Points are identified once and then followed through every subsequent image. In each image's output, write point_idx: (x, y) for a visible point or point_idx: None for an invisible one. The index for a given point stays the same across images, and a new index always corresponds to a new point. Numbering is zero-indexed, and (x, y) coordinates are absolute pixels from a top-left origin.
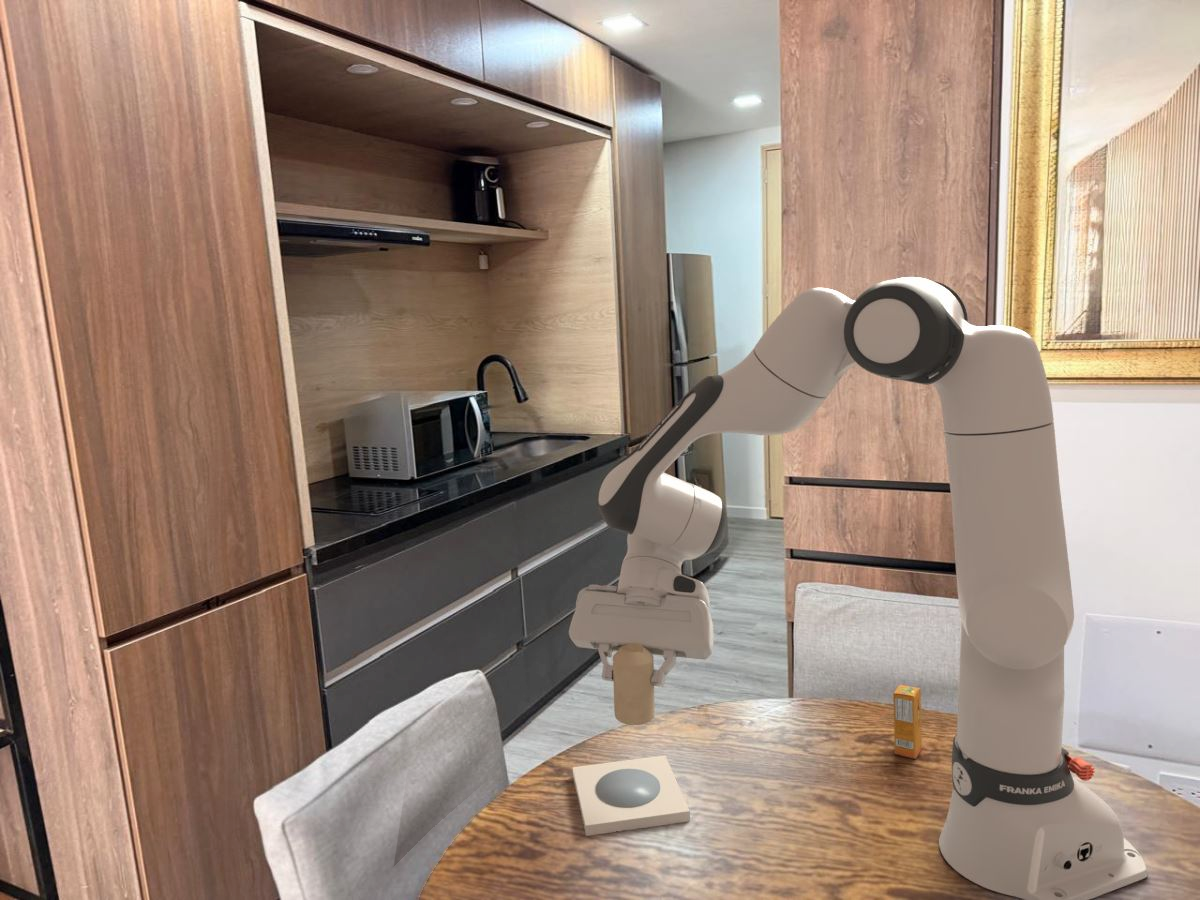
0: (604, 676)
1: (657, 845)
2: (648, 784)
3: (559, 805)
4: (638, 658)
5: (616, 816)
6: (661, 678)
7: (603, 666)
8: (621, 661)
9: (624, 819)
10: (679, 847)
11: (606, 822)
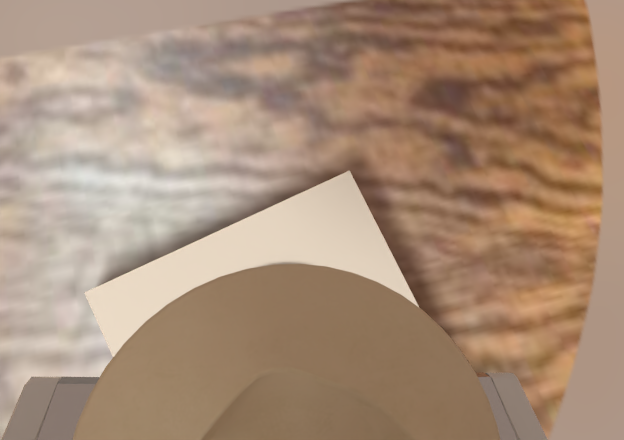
0: (490, 373)
1: (162, 180)
2: None
3: (451, 280)
4: (192, 353)
5: (282, 222)
6: (22, 396)
7: (541, 432)
8: (372, 303)
9: (257, 214)
10: (105, 184)
11: (301, 193)
